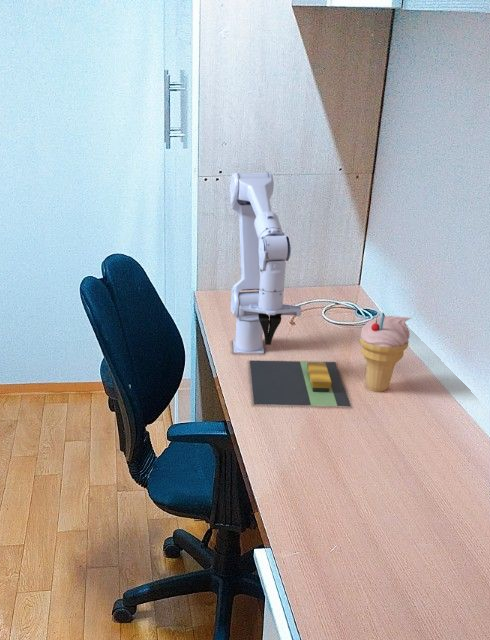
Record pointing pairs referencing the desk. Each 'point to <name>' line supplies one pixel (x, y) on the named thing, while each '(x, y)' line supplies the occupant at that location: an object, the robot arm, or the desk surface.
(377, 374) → the ice cream cone
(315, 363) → the gold bar
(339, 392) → the desk mat
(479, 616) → the desk surface
